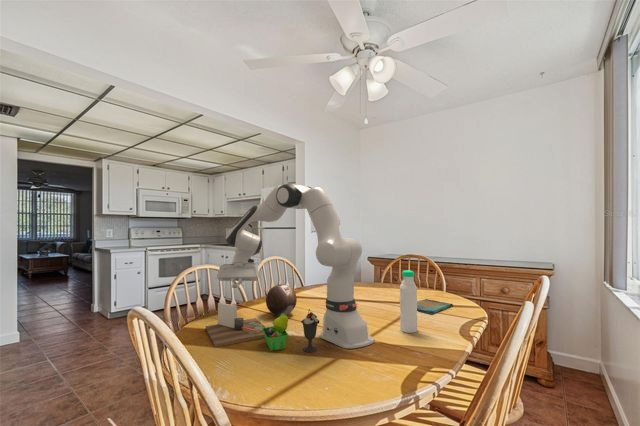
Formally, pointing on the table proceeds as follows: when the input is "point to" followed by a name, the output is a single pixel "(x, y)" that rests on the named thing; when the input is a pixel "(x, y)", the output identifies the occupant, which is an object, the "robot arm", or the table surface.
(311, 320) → the sundae
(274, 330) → the fruit basket
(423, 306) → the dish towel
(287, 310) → the wooden sphere
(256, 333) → the wooden board
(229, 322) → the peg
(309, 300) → the table surface
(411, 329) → the water bottle
